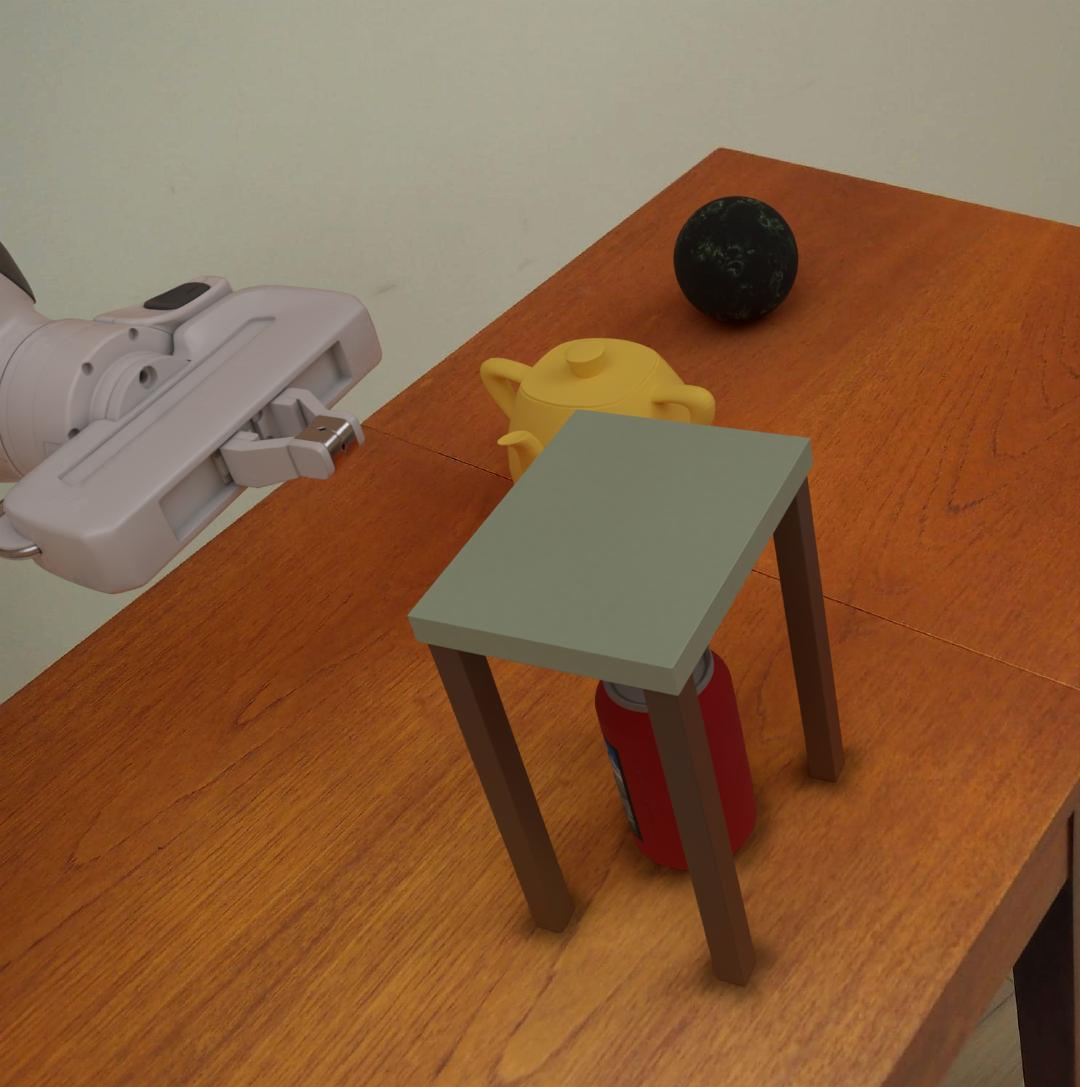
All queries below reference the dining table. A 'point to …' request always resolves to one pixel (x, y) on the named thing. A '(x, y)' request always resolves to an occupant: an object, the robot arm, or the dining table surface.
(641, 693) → the beverage can
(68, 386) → the robot arm
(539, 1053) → the dining table surface
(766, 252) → the decorative stone
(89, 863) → the dining table surface
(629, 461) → the side table
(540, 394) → the teapot
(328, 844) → the dining table surface
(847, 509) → the dining table surface
